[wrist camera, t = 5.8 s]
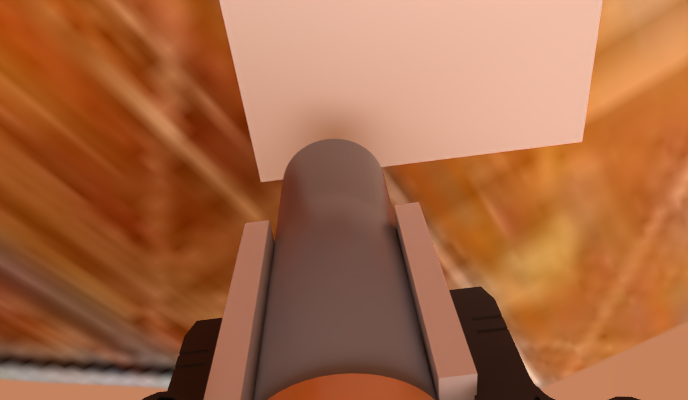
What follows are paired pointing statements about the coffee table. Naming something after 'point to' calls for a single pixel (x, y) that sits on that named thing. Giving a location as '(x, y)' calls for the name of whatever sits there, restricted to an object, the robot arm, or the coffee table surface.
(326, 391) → the marker
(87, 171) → the coffee table surface
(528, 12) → the paper
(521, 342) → the coffee table surface
